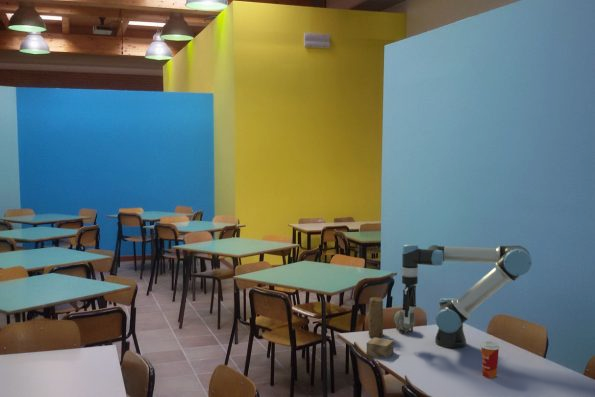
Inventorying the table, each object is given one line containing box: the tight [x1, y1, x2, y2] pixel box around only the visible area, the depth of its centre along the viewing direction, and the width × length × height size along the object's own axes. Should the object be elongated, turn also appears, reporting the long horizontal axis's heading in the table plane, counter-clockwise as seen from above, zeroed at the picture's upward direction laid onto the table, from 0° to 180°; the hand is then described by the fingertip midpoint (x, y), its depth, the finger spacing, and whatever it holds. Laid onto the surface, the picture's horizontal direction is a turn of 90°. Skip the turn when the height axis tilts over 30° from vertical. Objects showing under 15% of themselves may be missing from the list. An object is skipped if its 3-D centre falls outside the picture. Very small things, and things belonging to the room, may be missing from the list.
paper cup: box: [480, 341, 500, 379], centre depth 242 cm, size 8×8×14 cm
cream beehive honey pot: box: [393, 310, 416, 334], centre depth 307 cm, size 11×17×11 cm, turn 32°
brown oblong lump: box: [368, 296, 384, 338], centre depth 298 cm, size 11×8×20 cm
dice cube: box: [399, 310, 415, 324], centre depth 280 cm, size 5×5×5 cm
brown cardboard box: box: [366, 337, 394, 359], centre depth 270 cm, size 10×10×6 cm
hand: (409, 321), depth 280 cm, fingers closed on dice cube, 7 cm apart
